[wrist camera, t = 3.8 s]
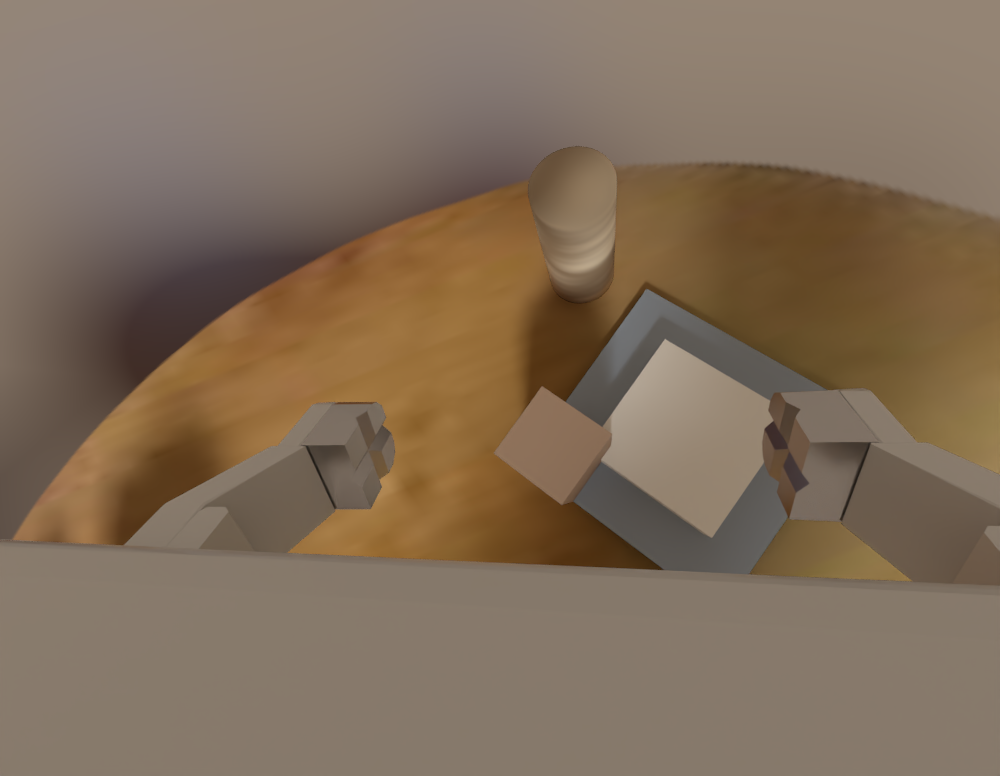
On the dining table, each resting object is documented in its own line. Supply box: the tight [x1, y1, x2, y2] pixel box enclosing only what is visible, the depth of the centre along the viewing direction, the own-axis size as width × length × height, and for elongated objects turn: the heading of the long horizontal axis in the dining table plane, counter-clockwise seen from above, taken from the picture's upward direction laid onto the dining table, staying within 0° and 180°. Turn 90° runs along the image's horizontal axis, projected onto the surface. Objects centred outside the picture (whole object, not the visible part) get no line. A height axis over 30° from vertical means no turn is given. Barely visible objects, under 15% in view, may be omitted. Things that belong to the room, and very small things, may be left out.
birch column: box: [528, 146, 617, 303], centre depth 28 cm, size 4×4×10 cm
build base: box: [494, 289, 827, 574], centre depth 25 cm, size 14×14×9 cm
